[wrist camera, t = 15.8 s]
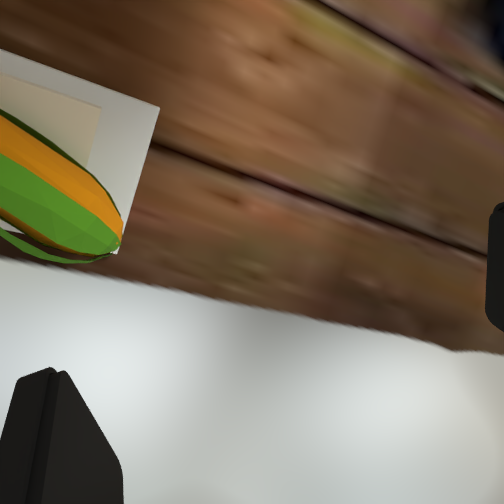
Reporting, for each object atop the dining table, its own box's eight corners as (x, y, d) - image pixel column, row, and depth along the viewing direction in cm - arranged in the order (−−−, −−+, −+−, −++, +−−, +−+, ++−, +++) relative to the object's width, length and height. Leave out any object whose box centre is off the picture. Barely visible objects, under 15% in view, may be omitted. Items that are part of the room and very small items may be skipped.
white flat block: (-140, 190, 34) (-164, 203, 31) (-120, 4, 30) (-145, -2, 27) (116, 248, 42) (117, 262, 39) (158, 106, 38) (162, 110, 35)
